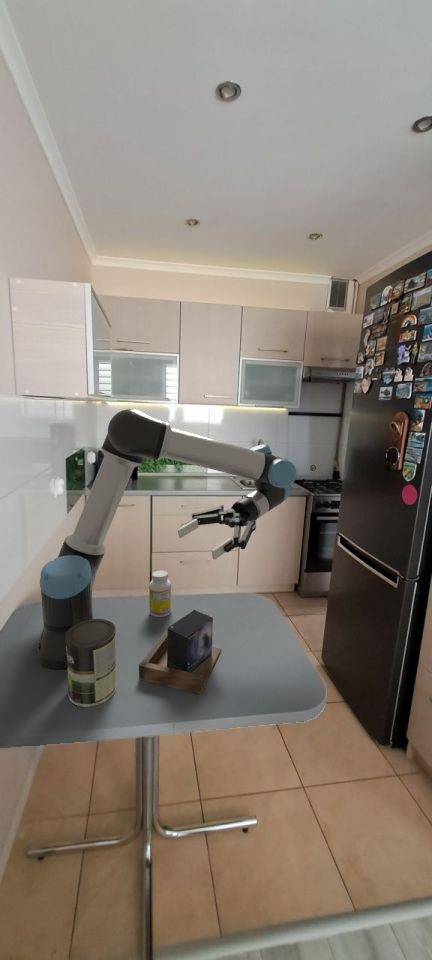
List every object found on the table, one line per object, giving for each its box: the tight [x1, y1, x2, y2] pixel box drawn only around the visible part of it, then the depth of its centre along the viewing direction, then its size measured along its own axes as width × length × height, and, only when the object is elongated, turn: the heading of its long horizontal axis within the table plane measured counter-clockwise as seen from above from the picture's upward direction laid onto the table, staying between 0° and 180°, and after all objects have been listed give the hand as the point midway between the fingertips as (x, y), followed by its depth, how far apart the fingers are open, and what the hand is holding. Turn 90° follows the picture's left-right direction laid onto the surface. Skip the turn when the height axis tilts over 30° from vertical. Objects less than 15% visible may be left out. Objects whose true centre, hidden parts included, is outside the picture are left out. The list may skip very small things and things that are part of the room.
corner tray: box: [138, 627, 222, 696], centre depth 89 cm, size 15×16×4 cm
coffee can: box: [65, 618, 118, 708], centre depth 80 cm, size 10×10×14 cm
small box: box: [167, 609, 214, 673], centre depth 89 cm, size 11×6×10 cm, turn 145°
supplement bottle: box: [148, 569, 172, 618], centre depth 112 cm, size 7×7×13 cm
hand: (195, 544), depth 95 cm, fingers open, 13 cm apart
